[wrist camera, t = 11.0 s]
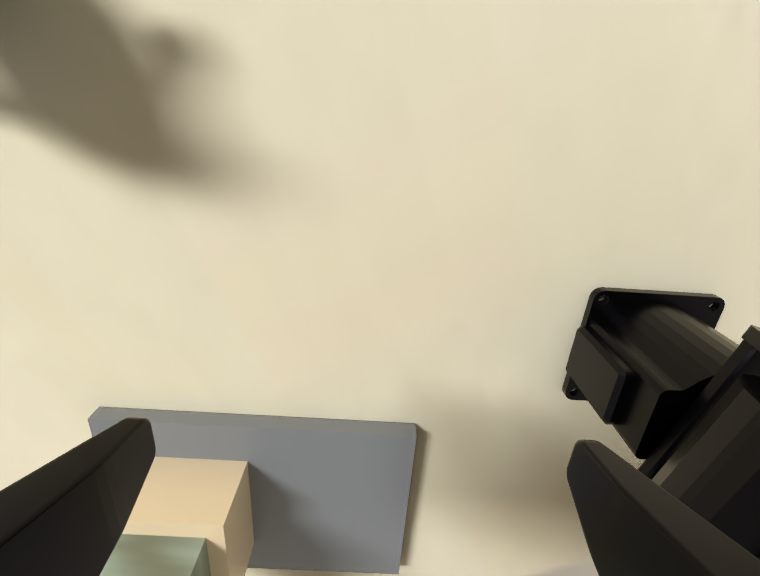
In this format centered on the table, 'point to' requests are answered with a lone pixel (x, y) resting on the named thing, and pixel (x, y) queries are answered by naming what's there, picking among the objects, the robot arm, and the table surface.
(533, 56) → the table surface
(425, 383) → the table surface
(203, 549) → the sage block
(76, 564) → the robot arm
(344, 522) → the build plate
